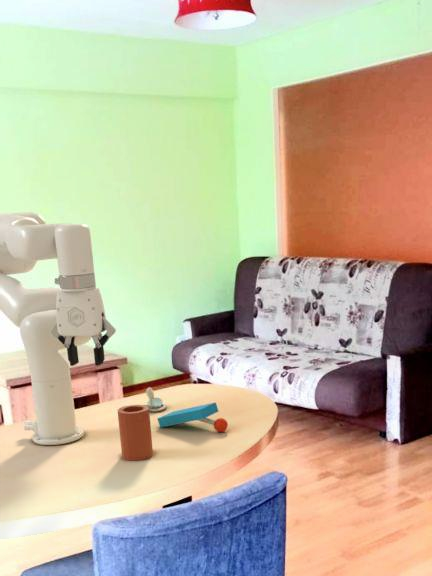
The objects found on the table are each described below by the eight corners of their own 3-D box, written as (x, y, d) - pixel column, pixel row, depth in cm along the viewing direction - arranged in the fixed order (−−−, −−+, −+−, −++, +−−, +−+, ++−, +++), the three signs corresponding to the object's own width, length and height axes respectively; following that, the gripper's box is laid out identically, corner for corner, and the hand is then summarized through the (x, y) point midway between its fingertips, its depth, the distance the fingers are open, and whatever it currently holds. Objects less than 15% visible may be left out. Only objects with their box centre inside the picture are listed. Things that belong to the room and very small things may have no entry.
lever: (165, 444, 188) (220, 434, 177) (157, 418, 187) (212, 407, 177) (180, 436, 194) (235, 426, 183) (173, 411, 193) (227, 399, 182)
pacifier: (170, 406, 207) (150, 405, 209) (169, 384, 205) (149, 383, 207) (160, 413, 200) (140, 412, 202) (159, 391, 198) (138, 390, 200)
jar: (117, 460, 166) (112, 413, 163) (128, 449, 172) (124, 404, 169) (147, 460, 164) (142, 413, 161) (156, 450, 170) (152, 404, 167)
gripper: (33, 286, 158) (44, 368, 163) (108, 283, 154) (116, 368, 159) (49, 282, 165) (59, 361, 170) (121, 279, 161) (128, 360, 166)
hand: (86, 363), depth 164 cm, fingers open, 5 cm apart
